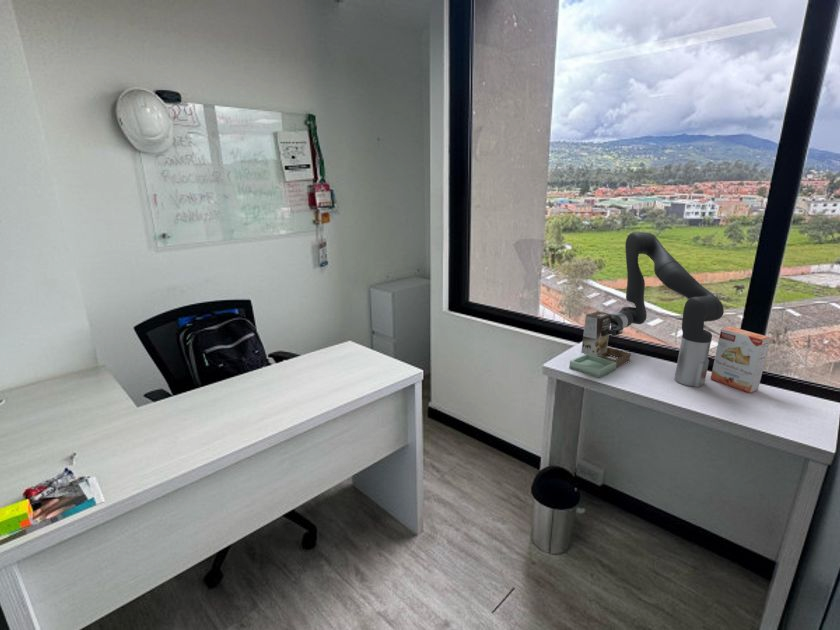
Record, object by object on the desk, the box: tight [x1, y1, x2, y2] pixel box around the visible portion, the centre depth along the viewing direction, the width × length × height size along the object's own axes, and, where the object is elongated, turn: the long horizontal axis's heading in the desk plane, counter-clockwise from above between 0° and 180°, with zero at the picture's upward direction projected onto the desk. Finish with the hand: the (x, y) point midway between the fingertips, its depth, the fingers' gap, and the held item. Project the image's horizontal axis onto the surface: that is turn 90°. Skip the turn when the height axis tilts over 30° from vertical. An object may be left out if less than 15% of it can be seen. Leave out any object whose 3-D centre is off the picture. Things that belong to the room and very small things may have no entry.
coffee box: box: [580, 310, 613, 357], centre depth 176 cm, size 9×6×16 cm
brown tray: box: [597, 346, 632, 369], centre depth 187 cm, size 10×13×4 cm
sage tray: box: [568, 354, 617, 379], centre depth 179 cm, size 13×13×3 cm
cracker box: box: [710, 326, 772, 394], centre depth 162 cm, size 14×6×21 cm, turn 28°
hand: (593, 331), depth 174 cm, fingers closed on coffee box, 6 cm apart
